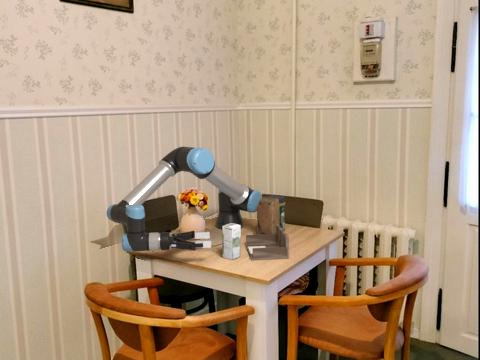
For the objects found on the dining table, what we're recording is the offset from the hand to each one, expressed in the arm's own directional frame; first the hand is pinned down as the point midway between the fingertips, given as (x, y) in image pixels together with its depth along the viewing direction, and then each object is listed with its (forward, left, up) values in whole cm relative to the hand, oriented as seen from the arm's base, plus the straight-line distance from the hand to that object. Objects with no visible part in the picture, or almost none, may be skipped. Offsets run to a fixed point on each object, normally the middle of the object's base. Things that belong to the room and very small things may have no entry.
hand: (210, 239), depth 191 cm
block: (-29, +30, -9) cm, 43 cm away
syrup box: (0, +9, -9) cm, 13 cm away
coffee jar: (-43, +37, -9) cm, 57 cm away
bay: (-6, +25, -8) cm, 27 cm away
